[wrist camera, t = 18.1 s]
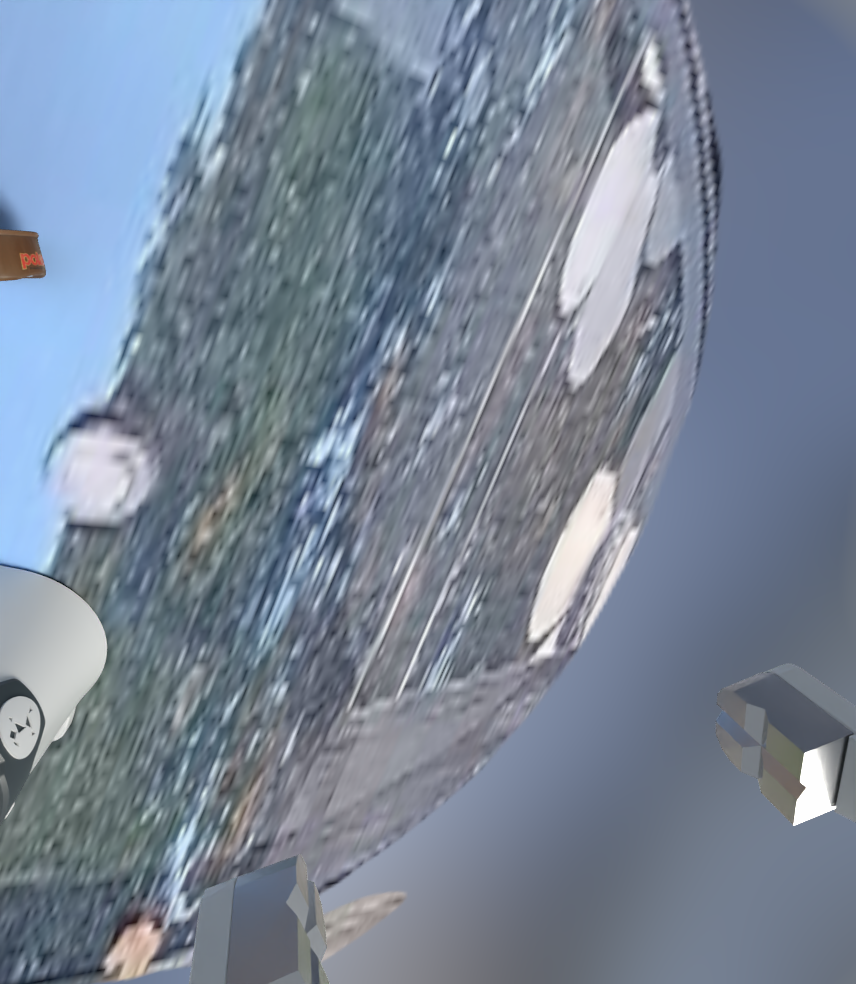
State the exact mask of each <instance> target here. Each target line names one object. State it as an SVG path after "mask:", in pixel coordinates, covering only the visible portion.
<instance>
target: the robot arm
mask: <svg viewBox="0 0 856 984" xmlns="http://www.w3.org/2000/svg"><path fill="white" fill-rule="evenodd" d="M106 655H107V642H106V636H105V632H104V629H103V627H102V624H101V622H100V620H99V619H98V617H97V615H96V614H95V613H94V611H93V610H92V609H91V607H90V606H89V605H88V604H87V603H86V602H85V601H84V600H83V599H82V598H81V597H80V596H78V595H77V594H76V593H74V592H73V591H72V590H70V589H69V588H67V587H65V586H64V585H62V584H60V583H58V582H56V581H54V580H52V579H50V578H47V577H45V576H42V575H39V574H36V573H33V572H29V571H25V570H21V569H16V568H10V567H5V566H1V565H0V825H1V824H2V822H3V820H4V819H5V818H6V817H7V816H8V814H9V812H10V811H11V809H12V808H13V806H14V804H15V803H14V802H15V800H16V798H17V796H18V795H19V793H20V791H21V789H22V787H23V785H24V783H25V782H26V780H27V778H28V776H29V774H30V773H31V771H32V770H33V768H34V767H35V765H36V764H37V763H38V761H39V760H40V758H41V757H42V755H43V754H44V752H45V751H46V749H47V748H48V746H49V745H50V743H51V742H52V741H55V740H57V739H59V738H61V737H62V736H63V735H64V733H65V732H66V730H67V729H68V727H69V726H70V724H71V722H72V719H73V716H74V712H75V708H76V705H77V704H78V702H79V701H80V700H81V699H82V698H83V696H84V695H85V694H86V693H87V692H88V691H89V690H90V688H91V687H92V686H93V685H94V684H95V682H96V681H97V679H98V678H99V676H100V674H101V672H102V670H103V668H104V664H105V661H106ZM717 696H718V697H717V705H718V706H719V707H720V708H721V709H722V710H723V711H722V712H721V714H720V715H719V717H718V719H717V720H716V736H717V738H718V741H719V743H720V745H721V748H722V750H723V751H724V752H725V754H726V755H727V757H728V758H729V760H730V761H731V762H732V763H733V764H734V765H735V766H736V767H737V768H738V769H739V770H740V771H741V772H743V773H745V774H748V775H750V776H752V777H755V778H757V779H758V781H759V786H760V790H761V793H762V794H763V795H764V796H765V797H766V798H767V799H768V800H769V801H770V802H771V803H772V804H773V805H774V806H775V807H776V808H777V809H778V810H779V811H780V812H781V813H782V814H783V815H784V816H785V817H786V818H787V819H788V820H789V821H790V822H791V823H792V824H793V825H796V824H798V823H801V822H803V821H806V820H808V819H810V818H813V817H815V816H818V815H820V814H823V813H825V812H828V811H830V810H832V809H835V812H836V813H838V814H840V815H842V816H844V817H846V818H848V819H850V820H852V821H853V822H855V823H856V706H854V705H853V704H851V703H850V702H849V701H847V700H846V699H844V698H843V697H841V696H840V695H839V694H837V693H836V692H834V691H833V690H832V689H830V688H829V687H827V686H826V685H824V684H823V683H822V682H820V681H819V680H817V679H816V678H814V677H813V676H811V675H810V674H809V673H807V672H806V671H804V670H803V669H802V668H800V667H798V666H796V665H793V664H790V663H788V664H784V665H781V666H779V667H776V668H774V669H772V670H769V671H767V672H762V673H759V674H757V675H755V676H752V677H750V678H747V679H745V680H742V681H740V682H738V683H735V684H733V685H730V686H728V687H725V688H723V689H721V691H720V692H719V693H718V695H717ZM326 948H327V943H326V931H325V922H324V916H323V910H322V904H321V901H320V897H319V894H318V891H317V888H316V886H315V883H314V882H312V881H309V880H307V865H306V863H305V861H304V859H303V857H302V855H301V854H299V855H296V856H294V857H291V858H288V859H285V860H283V861H280V862H277V863H275V864H272V865H269V866H267V867H264V868H261V869H258V870H256V871H253V872H250V873H248V874H245V875H242V876H240V877H236V878H233V879H231V880H228V881H226V882H223V883H221V884H218V885H215V886H213V887H210V888H208V889H206V890H205V892H204V895H203V898H202V900H201V903H200V909H199V916H198V923H197V930H196V937H195V944H194V952H193V959H192V966H191V973H190V981H189V984H329V980H328V978H327V976H326V973H325V971H324V969H323V967H322V965H321V960H322V958H323V955H324V953H325V951H326Z"/></svg>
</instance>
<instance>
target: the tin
mask: <svg viewBox="0 0 856 984" xmlns="http://www.w3.org/2000/svg"><path fill="white" fill-rule="evenodd" d="M37 238H38V233H36V232H30V231H17V230H2V229H0V281H7V280H17V279H22V278H42V277H44V276H45V275H46V270H45V265H44V261H43V258H42V254H41V251H40V247H39V244H38V239H37Z"/></svg>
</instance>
